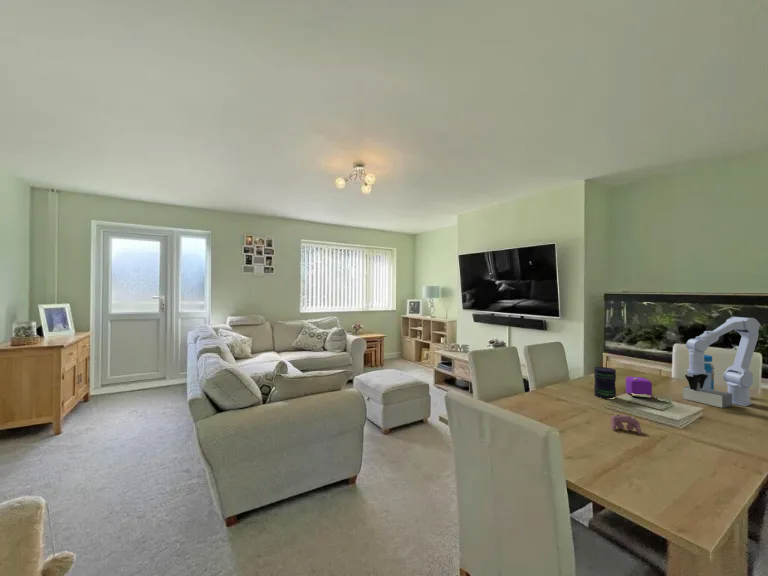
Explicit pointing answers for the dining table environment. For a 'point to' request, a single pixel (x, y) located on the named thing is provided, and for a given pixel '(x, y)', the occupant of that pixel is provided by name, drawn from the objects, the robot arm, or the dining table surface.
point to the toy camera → (638, 385)
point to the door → (703, 397)
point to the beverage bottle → (709, 372)
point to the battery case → (726, 395)
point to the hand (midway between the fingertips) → (696, 388)
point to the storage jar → (604, 382)
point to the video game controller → (631, 422)
